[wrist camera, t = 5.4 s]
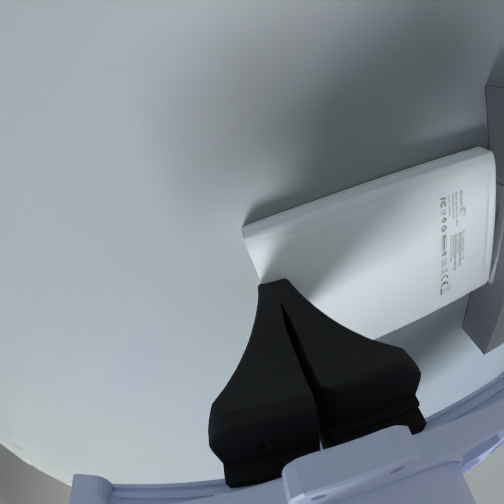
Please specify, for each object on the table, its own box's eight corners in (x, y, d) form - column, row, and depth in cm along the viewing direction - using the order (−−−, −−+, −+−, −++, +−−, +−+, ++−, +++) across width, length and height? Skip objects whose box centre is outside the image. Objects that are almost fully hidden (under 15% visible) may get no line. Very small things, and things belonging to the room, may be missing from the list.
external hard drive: (239, 222, 13) (475, 144, 12) (291, 350, 17) (474, 272, 16) (243, 240, 11) (497, 152, 11) (297, 372, 15) (489, 286, 15)
